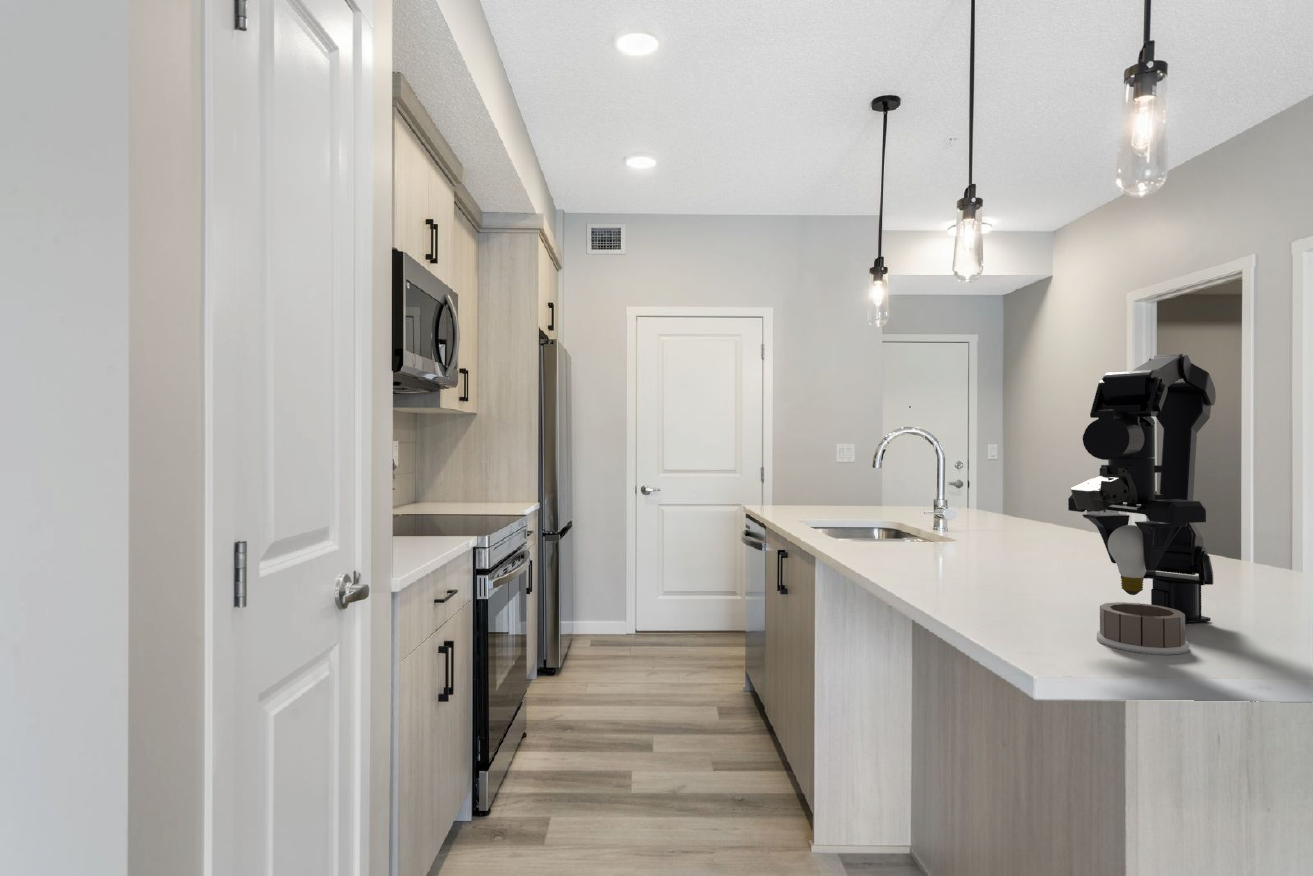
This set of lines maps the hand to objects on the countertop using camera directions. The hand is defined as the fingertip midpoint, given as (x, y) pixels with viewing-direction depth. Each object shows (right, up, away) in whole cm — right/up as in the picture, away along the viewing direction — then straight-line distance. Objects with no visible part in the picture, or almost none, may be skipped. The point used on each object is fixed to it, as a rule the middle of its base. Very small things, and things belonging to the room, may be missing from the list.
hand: (1132, 566), depth 107 cm
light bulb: (0, -4, 0) cm, 4 cm away
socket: (+1, -11, -1) cm, 11 cm away
